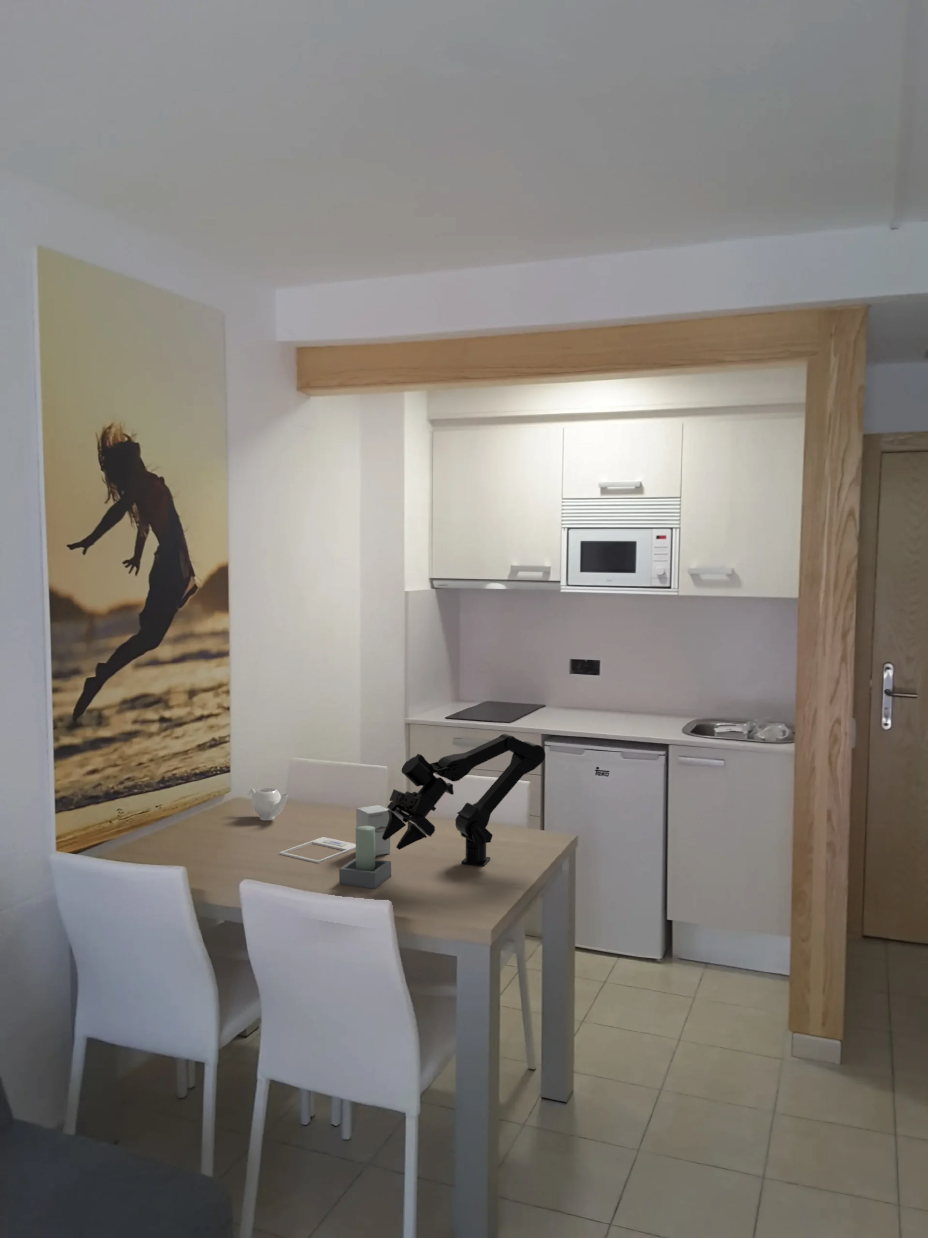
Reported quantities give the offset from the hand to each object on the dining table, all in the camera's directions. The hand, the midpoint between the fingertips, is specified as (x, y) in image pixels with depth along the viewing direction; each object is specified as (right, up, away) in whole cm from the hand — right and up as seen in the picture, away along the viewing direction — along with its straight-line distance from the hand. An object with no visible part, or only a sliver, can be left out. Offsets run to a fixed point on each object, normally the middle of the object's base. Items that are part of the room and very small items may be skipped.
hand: (390, 843), depth 253 cm
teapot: (-44, -5, +56) cm, 71 cm away
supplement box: (-6, -8, +21) cm, 23 cm away
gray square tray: (-6, -9, -3) cm, 11 cm away
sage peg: (-6, -8, -3) cm, 11 cm away
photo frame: (-22, -8, +23) cm, 32 cm away
